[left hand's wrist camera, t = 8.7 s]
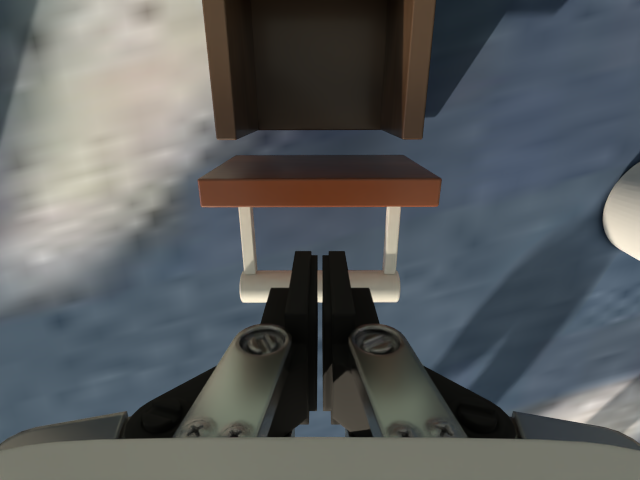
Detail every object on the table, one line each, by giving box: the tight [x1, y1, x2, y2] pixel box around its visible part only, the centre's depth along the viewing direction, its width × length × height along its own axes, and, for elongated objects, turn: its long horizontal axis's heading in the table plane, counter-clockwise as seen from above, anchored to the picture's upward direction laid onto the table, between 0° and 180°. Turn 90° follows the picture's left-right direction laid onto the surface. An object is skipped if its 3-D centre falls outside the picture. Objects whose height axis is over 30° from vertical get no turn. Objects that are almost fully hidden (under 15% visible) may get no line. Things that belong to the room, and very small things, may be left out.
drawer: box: [198, 0, 442, 302], centre depth 16 cm, size 24×10×7 cm, turn 0°
